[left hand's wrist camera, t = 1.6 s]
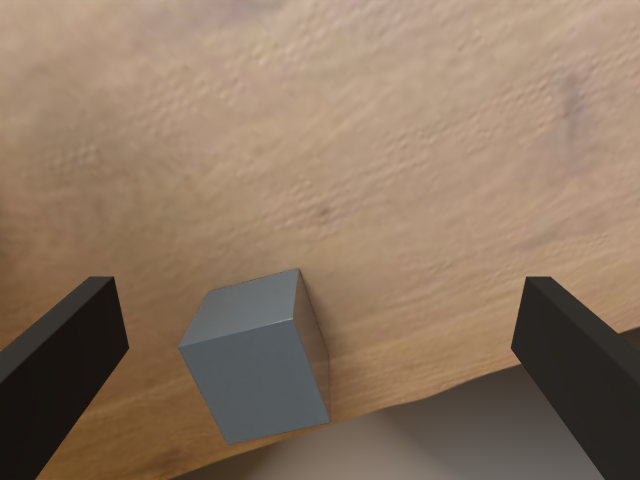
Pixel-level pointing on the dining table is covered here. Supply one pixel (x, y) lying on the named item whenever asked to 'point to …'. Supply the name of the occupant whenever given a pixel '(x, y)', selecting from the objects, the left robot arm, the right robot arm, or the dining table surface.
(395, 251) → the dining table surface
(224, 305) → the block
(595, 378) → the left robot arm
